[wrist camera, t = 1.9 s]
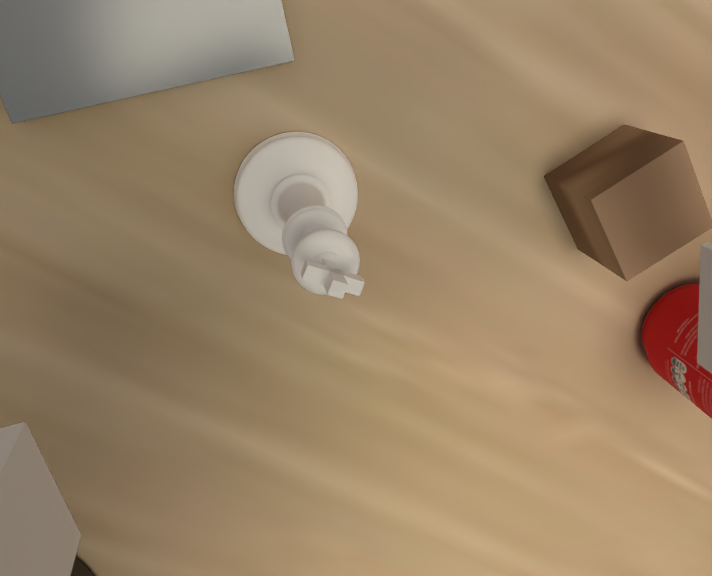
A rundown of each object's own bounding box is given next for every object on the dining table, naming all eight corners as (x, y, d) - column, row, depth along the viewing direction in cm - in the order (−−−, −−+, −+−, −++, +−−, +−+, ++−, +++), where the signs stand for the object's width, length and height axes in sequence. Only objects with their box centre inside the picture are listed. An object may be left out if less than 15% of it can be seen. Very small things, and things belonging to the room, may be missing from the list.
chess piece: (331, 266, 28) (386, 389, 19) (217, 231, 26) (217, 347, 17) (374, 156, 26) (457, 232, 17) (257, 112, 25) (279, 171, 16)
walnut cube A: (577, 248, 30) (626, 281, 26) (542, 176, 28) (590, 200, 25) (653, 200, 30) (713, 226, 26) (623, 124, 28) (683, 140, 24)
